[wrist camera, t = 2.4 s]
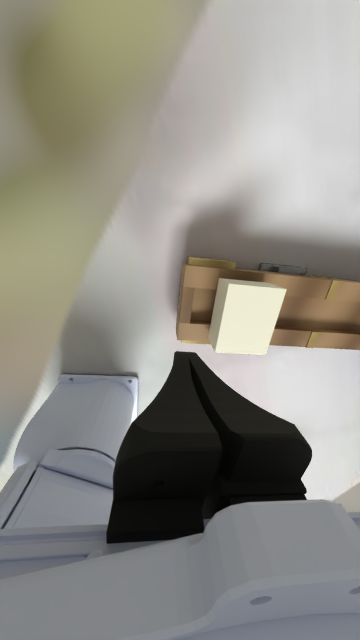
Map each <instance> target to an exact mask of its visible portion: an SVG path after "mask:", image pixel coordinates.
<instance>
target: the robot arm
mask: <svg viewBox="0 0 360 640" xmlns="http://www.w3.org/2000/svg"><path fill="white" fill-rule="evenodd" d="M71 378H73V379H71ZM58 380H59V384H58V385H57V387H56V388H55V389H54V391H53V392H52V393H51V394H50V396H49V397H48V398H47V400H46V401H45V402H44V404H43V405H42V406H41V408H40V409H39V410H38V412H37V413H36V414H35V415H34V417H33V418H32V419H31V421H30V422H29V424H28V425H27V427H26V428H25V430H24V432H23V434H22V436H21V438H20V440H19V443H18V445H17V448H16V452H15V456H14V473H13V474H12V476H11V477H10V479H9V480H8V482H7V483H6V485H5V486H4V488H3V489H2V491H1V492H0V640H360V512H347V511H346V510H345V508H344V507H343V506H342V505H341V504H339V503H337V502H335V501H329V500H307V499H306V497H305V495H304V494H306V492H307V491H306V488H305V486H304V484H303V483H302V481H301V477H302V476H303V474H304V472H305V470H306V469H307V467H308V465H309V463H310V461H311V458H312V450H311V447H310V445H309V444H308V443H307V441H306V440H305V438H304V437H303V436H302V434H301V433H300V432H299V430H298V429H297V428H296V426H295V425H294V424H292V423H290V422H288V421H286V420H284V419H282V418H279V417H277V416H275V415H273V414H271V413H269V412H267V411H266V410H264V409H262V408H260V407H258V406H257V405H255V404H253V403H252V402H250V401H249V400H247V399H246V398H244V397H243V396H241V395H240V394H238V393H237V392H236V391H234V390H233V389H232V388H230V387H229V386H228V385H227V384H225V383H224V382H223V381H222V380H221V379H220V378H219V377H218V376H217V375H216V374H215V373H214V372H213V371H212V370H211V369H210V368H209V367H208V366H207V365H206V364H205V363H204V362H203V361H202V360H201V358H200V357H199V356H198V355H197V354H196V353H194V352H179V351H176V352H175V353H174V361H173V367H172V369H171V372H170V374H169V376H168V378H167V380H166V382H165V384H164V385H163V387H162V389H161V390H160V392H159V393H158V395H157V396H156V397H155V399H154V400H153V401H152V402H151V403H150V405H149V406H148V407H147V408H146V409H145V410H144V411H143V412H142V413H141V414H140V415H139V416H138V417H137V410H138V378H137V377H135V376H103V375H70V374H62V375H60V376H59V378H58ZM129 380H132V381H129ZM130 424H131V425H130Z"/></svg>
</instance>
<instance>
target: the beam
mask: <svg viewBox="0 0 360 640" xmlns="http://www.w3.org/2000/svg"><path fill="white" fill-rule="evenodd" d="M235 267H236V262H231V261H226V260H217V259H207V258H198V257H189V256H188V262H187V263H183V266H182V275H181V285H180V294H179V304H178V313H177V323H176V334H177V340H181V343H196V344H211V343H210V341H209V339H208V337H209V331H210V326H211V320H212V314H213V308H214V303H215V297H216V292H217V287H218V281H219V278H223V279H234V280H244V281H254V282H265V283H270V284H273V285H276V286H279V287H282V288H285V289H287V290H286V293H285V296H284V299H283V303H282V306H281V309H280V312H279V315H278V318H277V321H276V325H275V328H274V331H273V334H272V337H271V340H270V343H269V345H279V346H297V347H306V348H313V347H315V348H334V349H352V350H360V281H354V280H345V279H335V278H328V277H323V276H315V275H313V276H306V275H296V274H287V273H277V272H268V271H258V270H248V269H239V268H235Z"/></svg>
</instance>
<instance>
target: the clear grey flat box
mask: <svg viewBox="0 0 360 640" xmlns="http://www.w3.org/2000/svg"><path fill="white" fill-rule="evenodd" d="M306 270H307V268H303V267H294V266H284V265H275V264H266V263H261V264H260V268H259V271H268V272H277V273H287V274H296V275H305V273H306Z"/></svg>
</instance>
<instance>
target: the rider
mask: <svg viewBox="0 0 360 640" xmlns="http://www.w3.org/2000/svg"><path fill="white" fill-rule="evenodd" d="M286 290H287V289H285V288H282V287H279V286H276V285H273V284H270V283H265V282H254V281H244V280H234V279H223V278H219V281H218V287H217V292H216V297H215V303H214V308H213V314H212V320H211V326H210V331H209V337H208V339H209V341H210V343H211V345H212V347H213V349H214V351H215V352H216V353H237V354H258V355H266V353H267V350H268V347H269V343H270V340H271V337H272V334H273V331H274V328H275V325H276V321H277V318H278V315H279V312H280V309H281V306H282V303H283V299H284V296H285V293H286Z"/></svg>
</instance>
